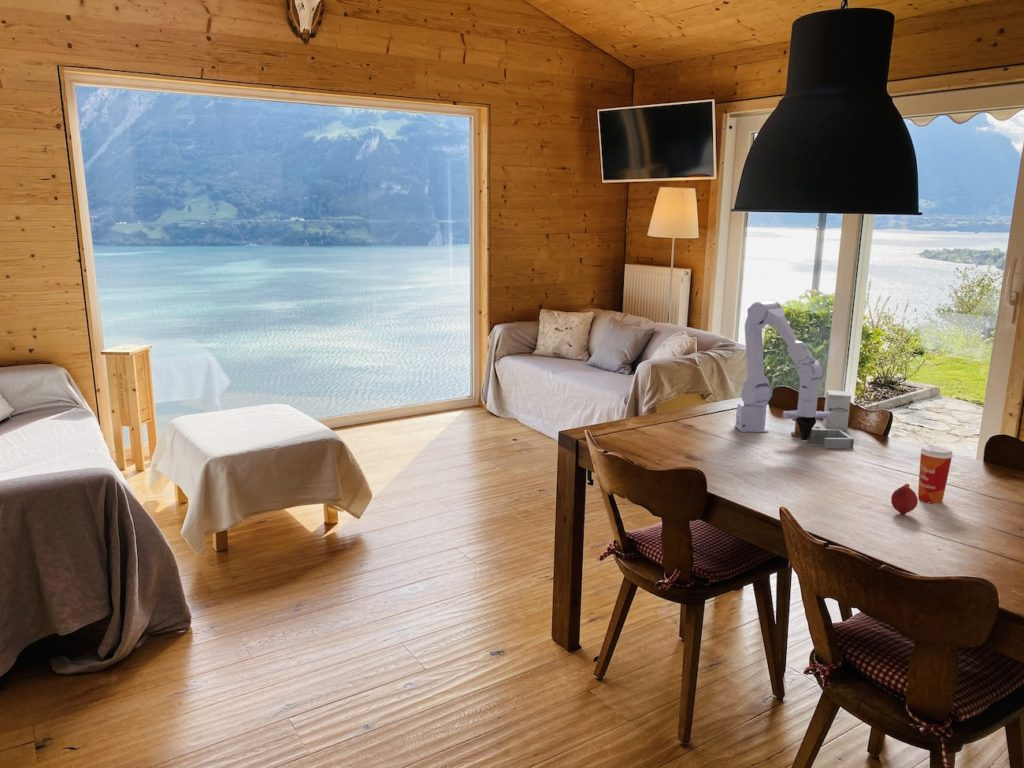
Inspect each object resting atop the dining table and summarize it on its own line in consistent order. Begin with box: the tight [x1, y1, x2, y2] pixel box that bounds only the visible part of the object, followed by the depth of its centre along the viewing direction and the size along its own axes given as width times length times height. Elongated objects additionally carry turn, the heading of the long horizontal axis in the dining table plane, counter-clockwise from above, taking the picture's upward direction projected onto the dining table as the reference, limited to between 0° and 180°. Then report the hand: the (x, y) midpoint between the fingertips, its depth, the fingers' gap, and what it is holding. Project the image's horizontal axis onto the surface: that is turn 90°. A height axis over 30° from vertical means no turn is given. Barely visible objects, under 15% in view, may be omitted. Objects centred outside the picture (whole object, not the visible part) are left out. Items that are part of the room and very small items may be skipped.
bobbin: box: [790, 418, 801, 438], centre depth 256 cm, size 5×5×6 cm
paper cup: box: [917, 444, 954, 504], centre depth 199 cm, size 8×8×14 cm
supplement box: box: [822, 389, 852, 432], centre depth 265 cm, size 7×7×13 cm
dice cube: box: [806, 425, 828, 446], centre depth 249 cm, size 5×5×5 cm
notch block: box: [822, 429, 855, 449], centre depth 249 cm, size 9×11×3 cm
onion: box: [890, 483, 919, 515], centre depth 190 cm, size 6×6×8 cm
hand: (804, 439), depth 249 cm, fingers closed
